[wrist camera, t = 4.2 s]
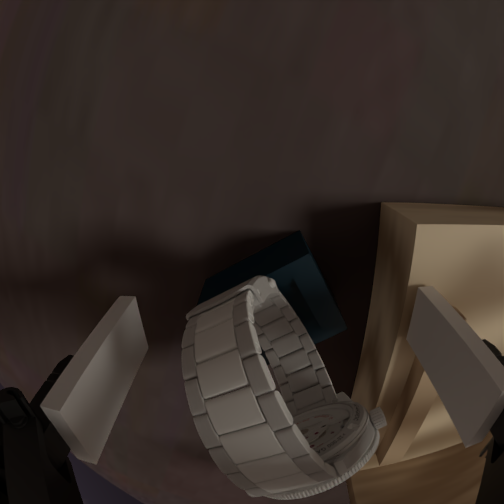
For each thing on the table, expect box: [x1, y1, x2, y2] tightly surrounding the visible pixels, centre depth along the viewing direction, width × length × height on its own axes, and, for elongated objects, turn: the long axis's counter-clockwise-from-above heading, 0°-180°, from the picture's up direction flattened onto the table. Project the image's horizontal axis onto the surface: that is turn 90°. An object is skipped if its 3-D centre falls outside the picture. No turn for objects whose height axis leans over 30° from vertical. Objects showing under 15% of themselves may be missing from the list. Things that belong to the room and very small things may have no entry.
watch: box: [182, 230, 387, 500], centre depth 11 cm, size 6×8×11 cm
